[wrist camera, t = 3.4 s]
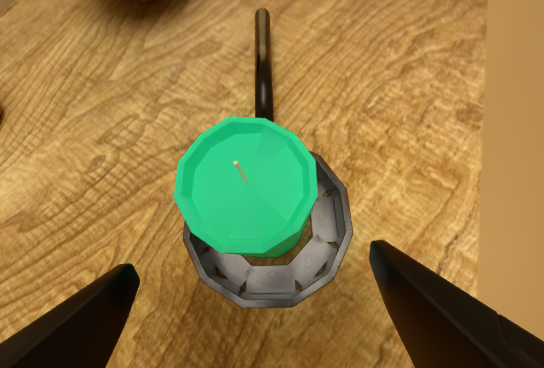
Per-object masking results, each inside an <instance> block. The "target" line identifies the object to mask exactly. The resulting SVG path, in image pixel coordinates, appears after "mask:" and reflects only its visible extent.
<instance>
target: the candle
mask: <svg viewBox="0 0 544 368" xmlns="http://www.w3.org/2000/svg"><path fill="white" fill-rule="evenodd" d="M317 197H318V191H317V176H316V161H315V159H314V158H313V156H312V155H311V154H310V152H309V151H308V150H307V148H306V147H305V146H304V144H303V143H302V142H301V141H300V139H299V138H298V137H297V135H296V134H294V133H293V132H291V131H289V130H287V129H285V128H283V127H281V126H279V125H277V124H275V123H273V122H271V121H269V120H267V119H265V118H251V117H232V116H229V117H228V118H226V119H225V120H223V121H221V122H220V123H218V124H216V125H215V126H213V127H212V128H210V129H208V130H207V131H205V132H204V133H202V134H200V135H199V136H198V138H197V139H196V140H195V142H194V143H193V144H192V145H191V147H190V148H189V149H188V150H187V152H186V153H185V154H184V156H183V157H182V158H181V159H180V161H179V162H178V167H177V175H176V183H175V191H174V200H175V202H176V204H177V205H178V207H179V209H180V211H181V213H182V215H183V217H184V219H185V221H186V223H187V225H188V227H189V229H190V230H191V232H192V233H193V234H194V235H196V236H197V237H199V238H200V239H202V240H203V241H204V242H206V243H207V244H209V245H210V246H212V247H213V248H214V249H216V250H217V251H219V252H220V253H227V254H235V255H244V256H253V257H280V256H282V255H283V254H285V253H286V252H288V251H290V250H291V249H293V248H295V246H296V245H297V243H298V241H299V239H300V237H301V235H302V233H303V231H304V229H305V227H306V224H307V222H308V219H309V217H310V214H311V212H312V209H313V207H314V204H315V202H316V199H317Z"/></svg>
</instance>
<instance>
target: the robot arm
mask: <svg viewBox="0 0 544 368" xmlns="http://www.w3.org/2000/svg"><path fill="white" fill-rule="evenodd" d="M369 261H370V265H371V268H372V271H373V273H374V276H375V279H376V282H377V284H378V287H379V290H380V293H381V296H382V298H383V301H384V304H385V306H386V308H387V310H388V313H389V315H390V317H391V319H392V321H393V323H394V325H395V327H396V329H397V331H398V333H399V335H400V338H401V340H402V342H403V344H404V346H405V348H406V350H407V352H408V354H409V356H410V358H411V360H412V362H413V364H414V366H415V368H544V341H542V340H541V339H539V338H537V337H535V336H534V335H533V334H531V333H529V332H528V331H526V330H524V329H523V328H521V327H520V326H518V325H516V324H515V323H513V322H511V321H510V320H508V319H507V318H505V317H503V316H502V315H498V314H497V312H496V311H494V310H493V309H491V308H490V307H488V306H486V305H485V304H483V303H482V302H480V301H478V300H477V299H475V298H474V297H472V296H471V295H469V294H468V293H466V292H464V291H463V290H461V289H460V288H458V287H457V286H455V285H453V284H452V283H450V282H449V281H447V280H446V279H444V278H442V277H441V276H439V275H438V274H436V273H435V272H433V271H431V270H430V269H428V268H427V267H425V266H424V265H422V264H420V263H419V262H417V261H416V260H414V259H413V258H411V257H409V256H408V255H406V254H405V253H403V252H402V251H400V250H398V249H397V248H395V247H394V246H392V245H391V244H389V243H387V242H386V241H384V240H376V241H372V242H371V245H370V255H369ZM139 285H140V278H139V276H138V274H137V272H136V270H135V268H134V266H133V265H132V264H130V263H127V264H119V265H117V266H116V267H114V268H113V269H111V270H110V271H108V272H107V273H105V274H104V275H102V276H101V277H99V278H98V279H96V280H95V281H93V282H92V283H90V284H89V285H87V286H86V287H84V288H83V289H81V290H80V291H78V292H77V293H75V294H74V295H72V296H71V297H69V298H68V299H66V300H65V301H63V302H62V303H60V304H59V305H57V306H56V307H54V308H53V309H51V310H50V311H48V312H47V313H45V314H44V315H42V316H41V317H39V318H38V319H37V320H35V321H34V322H32V323H31V324H29V325H28V326H26V327H25V328H23V329H22V330H20V331H19V332H17V333H16V334H14V335H13V336H11V337H10V338H8V339H7V340H5V341H4V342H2V343H1V344H0V368H106V365H107V363H108V361H109V359H110V357H111V355H112V352H113V350H114V348H115V346H116V344H117V342H118V339H119V337H120V335H121V333H122V331H123V328H124V326H125V323H126V321H127V318H128V315H129V313H130V310H131V307H132V304H133V302H134V299H135V296H136V293H137V290H138V288H139Z"/></svg>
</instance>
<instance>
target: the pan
mask: <svg viewBox="0 0 544 368" xmlns="http://www.w3.org/2000/svg"><path fill="white" fill-rule="evenodd" d="M255 118H265V119H267V120H269V121H271V122H273V123H274V119H273V91H272V63H271V36H270V15H269V12H268V11H267V10H266V9H265V8H259V9H258V10H257V11H256V13H255ZM309 152H310V151H309ZM310 154H311V155H312V156H313V158H314V159H315V161H316V176H317V191H318V197H317V199H316V202H315V204H314V207H313V209H312V212H311V214H310V215H311V227H312V238H311V239H310V240H309V242H308V243H307V244H306V245H305V246H304V247H303V249H302V250H301V251H300V252H299V253H298V254H297V255H296V257H295V258H294V259H293V260H292V261H291V262H290V263H289V265H261V266H252V265H251V264H250V263H249V262H248V261H247V260H246V259H245V258H244V257H243V256H242V255H235V254H227V253H220V252H219V251H217V250H216V249H214V248H212V249H211V250H210V251H209V250H208V248H207V247H212V246H210V245H209V244H207V243H206V242H204V241H203V240H202V239H200V238H199V237H197V236H196V235H194V234H193V233H192V232H191V230H190V229H189V227H188V225H187V223H186V221H185V223H184V233H183V242H184V244H185V246H186V248H187V251H188V253H189V255H190V257H191V259H192V262H193V264H194V266H195V268H196V270H197V273H198V275H199V277H200V279H201V281H202V283H204V284H206V285H207V286H209V287H210V288H212V289H213V290H215V291H216V292H218V293H219V294H221V295H222V296H224V297H226V298H227V299H229V300H230V301H232V302H233V303H235V304H236V305H238V306H239V307H241V308H289V307H294V306H295V305H297V304H298V303H300V302H301V301H303V300H304V299H305V298H307V297H308V296H310V295H311V294H313V293H314V292H316V291H317V290H319V289H320V288H321V287H323V286H324V285H326V284H327V283H329V282H330V281H332V280H333V279H334V278H335V276H336V273H337V271H338V269H339V266H340V264H341V262H342V259H343V257H344V255H345V252H346V250H347V247H348V245H349V243H350V240H351V238H352V236H353V229H352V222H351V215H350V208H349V201H348V194H347V189H346V187H345V186H344V185H343V184H342V182H341V181H340V180H339V179H338V177H337V176H336V175H335V174H334V172H333V171H332V170H331V168H330V167H329V166H328V165H327V163H326V162H325V161H324V160H323V158H322V157H321V156H320V155H317V154H315V153H313V152H310ZM326 192H327V194H328V195H329V196H323V195H324V194H325V193H326ZM327 242H335V243H334V245H333V247H332V246H331V245H329V244H328V243H327ZM324 264H325V266H324ZM323 266H324V268H323V270H322V271H321V272H320V273H318V272H319V270H320V269H321V268H322V267H323ZM218 269H219V270H220V271H221V272H222V273H223V274H224V276H223V275H221V274H220V272H219V270H218ZM317 273H318V274H317ZM316 274H317V275H316ZM315 275H316V276H315ZM295 280H296V281H297V282H298V283H299V284H300V285H301V286H299V287H298V288H296V287H295ZM245 282H246V289H244V288H242V287H241V286H242V285H243V284H244V283H245Z"/></svg>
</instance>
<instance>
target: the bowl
mask: <svg viewBox="0 0 544 368" xmlns="http://www.w3.org/2000/svg"><path fill="white" fill-rule="evenodd" d="M133 1H135V2H139V3H147V2H152V1H155V0H133Z"/></svg>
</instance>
